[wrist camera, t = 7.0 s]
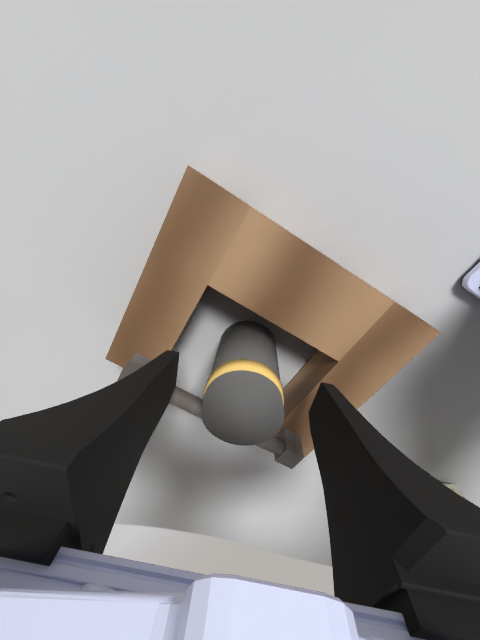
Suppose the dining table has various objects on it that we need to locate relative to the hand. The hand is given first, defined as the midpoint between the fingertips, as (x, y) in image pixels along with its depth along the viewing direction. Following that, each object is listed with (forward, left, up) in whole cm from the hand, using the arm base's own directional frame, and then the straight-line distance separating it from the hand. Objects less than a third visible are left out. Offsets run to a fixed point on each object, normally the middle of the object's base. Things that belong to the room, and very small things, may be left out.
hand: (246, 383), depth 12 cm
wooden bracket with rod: (0, -1, -4) cm, 4 cm away
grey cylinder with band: (0, 0, -4) cm, 4 cm away
